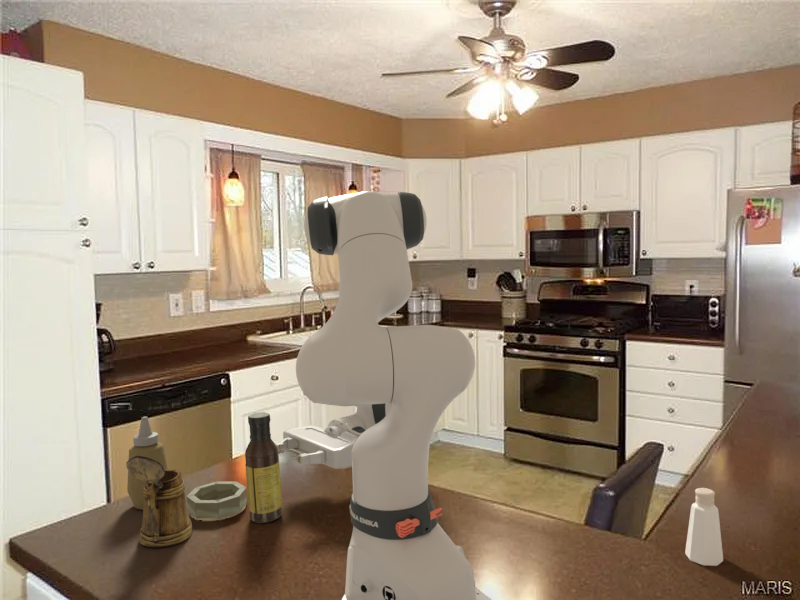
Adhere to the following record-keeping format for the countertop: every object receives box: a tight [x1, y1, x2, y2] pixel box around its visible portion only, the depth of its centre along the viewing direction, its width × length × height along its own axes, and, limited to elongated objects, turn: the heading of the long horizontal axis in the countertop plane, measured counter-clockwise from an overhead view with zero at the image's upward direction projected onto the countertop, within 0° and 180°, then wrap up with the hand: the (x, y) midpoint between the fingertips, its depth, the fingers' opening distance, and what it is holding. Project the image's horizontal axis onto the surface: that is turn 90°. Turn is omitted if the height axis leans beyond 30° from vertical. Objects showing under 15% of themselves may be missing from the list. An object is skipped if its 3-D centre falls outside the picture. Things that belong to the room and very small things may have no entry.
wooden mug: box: [125, 455, 193, 549], centre depth 104 cm, size 9×14×18 cm, turn 178°
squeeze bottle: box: [126, 416, 169, 511], centre depth 120 cm, size 8×8×18 cm
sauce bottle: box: [244, 411, 283, 524], centre depth 113 cm, size 6×6×20 cm
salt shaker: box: [684, 487, 724, 567], centre depth 94 cm, size 5×5×11 cm
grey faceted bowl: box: [186, 480, 248, 522], centre depth 118 cm, size 11×11×4 cm
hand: (286, 454), depth 116 cm, fingers open, 8 cm apart
